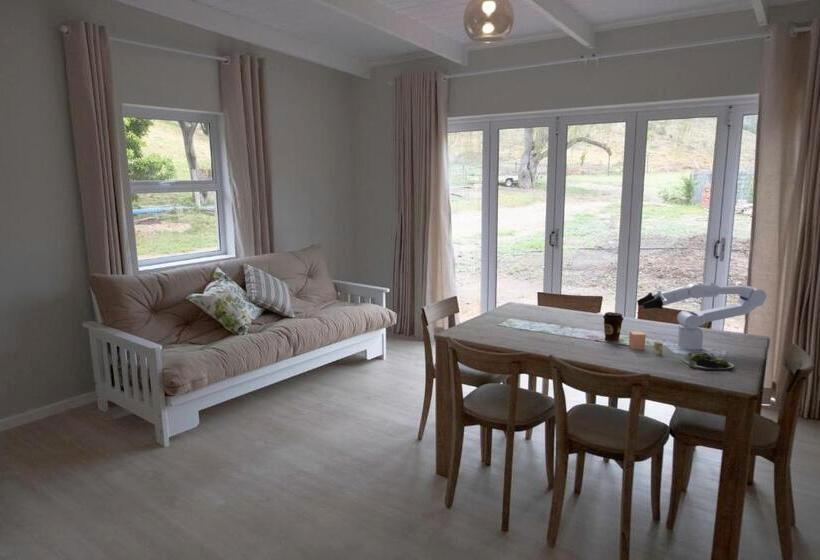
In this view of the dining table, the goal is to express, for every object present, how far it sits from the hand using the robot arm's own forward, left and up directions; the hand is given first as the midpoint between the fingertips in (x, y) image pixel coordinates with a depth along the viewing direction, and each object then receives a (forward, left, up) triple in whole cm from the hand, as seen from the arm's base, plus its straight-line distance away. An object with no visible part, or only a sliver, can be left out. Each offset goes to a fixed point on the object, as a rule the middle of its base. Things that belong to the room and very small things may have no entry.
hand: (640, 304), depth 242 cm
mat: (-4, +7, -19) cm, 21 cm away
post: (-5, +11, -19) cm, 23 cm away
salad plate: (-20, +23, -20) cm, 36 cm away
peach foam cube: (+1, +2, -19) cm, 19 cm away
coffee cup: (+9, -9, -19) cm, 23 cm away
